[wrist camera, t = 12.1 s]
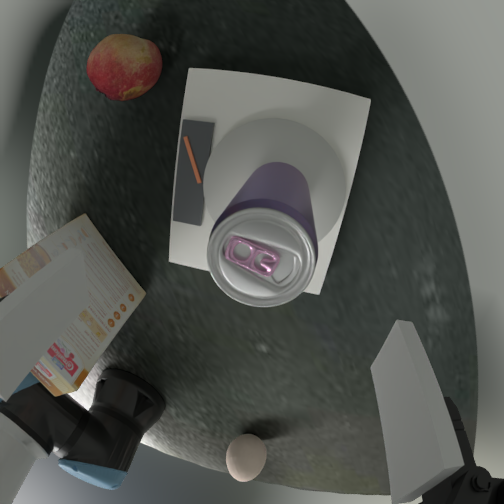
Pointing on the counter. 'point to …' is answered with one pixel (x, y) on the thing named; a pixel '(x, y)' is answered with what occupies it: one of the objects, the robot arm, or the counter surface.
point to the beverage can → (265, 239)
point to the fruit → (124, 66)
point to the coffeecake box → (93, 316)
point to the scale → (261, 153)
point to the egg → (246, 457)
